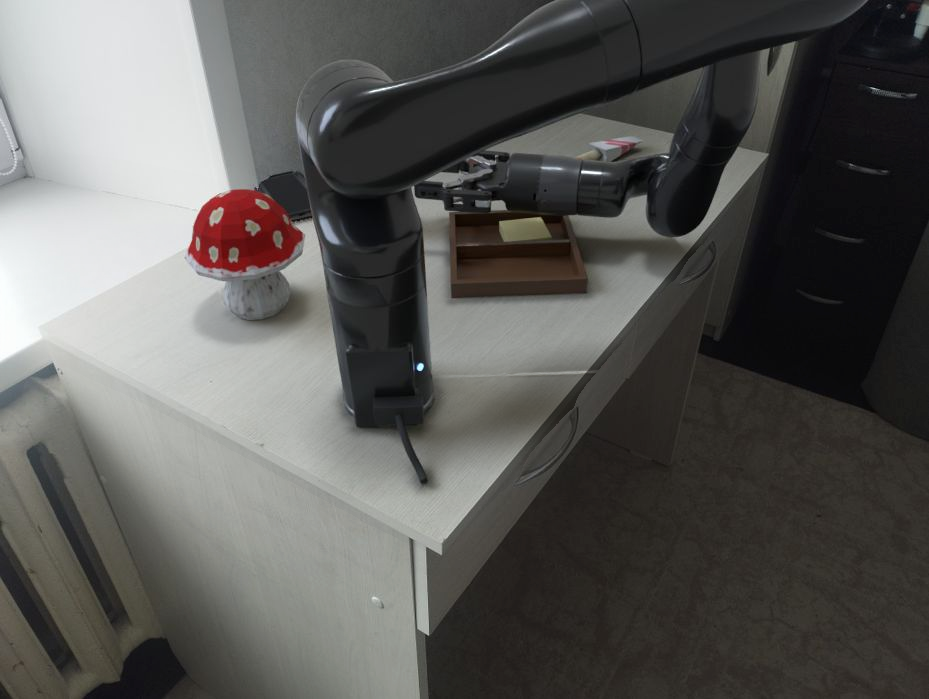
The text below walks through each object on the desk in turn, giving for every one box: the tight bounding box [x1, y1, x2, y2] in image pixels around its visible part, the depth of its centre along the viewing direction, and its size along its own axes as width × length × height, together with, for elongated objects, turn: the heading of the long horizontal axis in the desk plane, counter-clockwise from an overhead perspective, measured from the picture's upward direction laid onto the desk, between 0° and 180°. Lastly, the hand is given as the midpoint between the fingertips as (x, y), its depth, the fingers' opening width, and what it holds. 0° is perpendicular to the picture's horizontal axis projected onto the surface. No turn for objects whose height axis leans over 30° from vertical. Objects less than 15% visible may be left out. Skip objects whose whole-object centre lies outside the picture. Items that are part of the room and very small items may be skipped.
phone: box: [253, 170, 312, 222], centre depth 116 cm, size 8×1×15 cm
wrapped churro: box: [574, 135, 645, 162], centre depth 124 cm, size 4×3×20 cm
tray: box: [448, 209, 588, 299], centre depth 99 cm, size 19×17×2 cm
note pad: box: [499, 217, 552, 242], centre depth 103 cm, size 6×6×2 cm
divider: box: [456, 239, 570, 259], centre depth 99 cm, size 1×15×2 cm, turn 91°
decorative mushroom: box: [184, 188, 306, 321], centre depth 88 cm, size 14×14×15 cm
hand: (424, 175), depth 100 cm, fingers open, 8 cm apart
